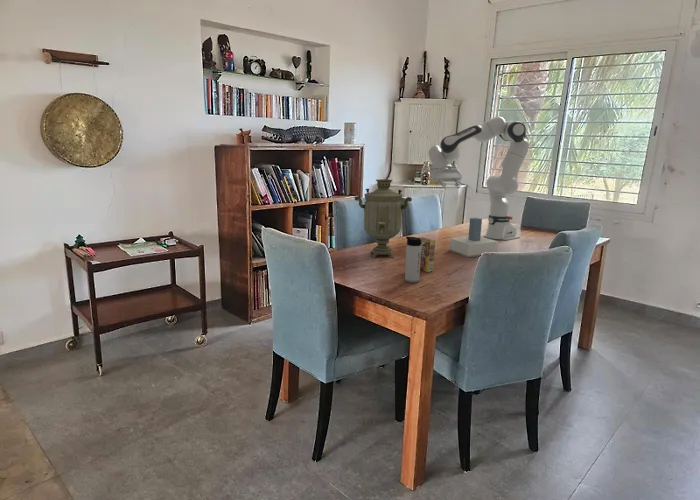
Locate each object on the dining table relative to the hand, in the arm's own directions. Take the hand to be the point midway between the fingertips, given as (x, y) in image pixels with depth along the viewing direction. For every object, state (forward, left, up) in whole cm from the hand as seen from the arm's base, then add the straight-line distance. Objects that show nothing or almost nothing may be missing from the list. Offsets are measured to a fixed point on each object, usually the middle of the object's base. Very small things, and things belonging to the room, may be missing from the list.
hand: (451, 186), depth 276 cm
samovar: (+57, +18, -34) cm, 69 cm away
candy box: (+49, +48, -34) cm, 77 cm away
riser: (+4, +29, -33) cm, 45 cm away
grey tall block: (+4, +29, -26) cm, 40 cm away
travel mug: (+64, +61, -34) cm, 95 cm away
